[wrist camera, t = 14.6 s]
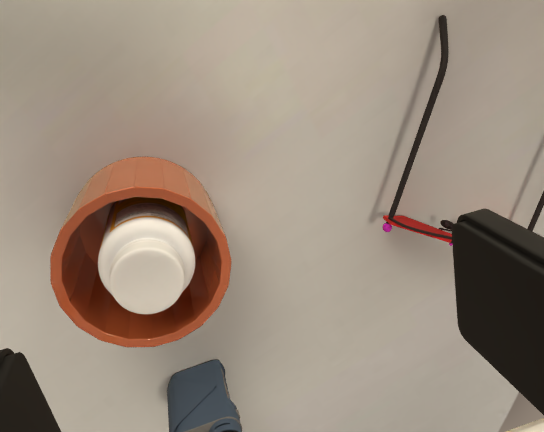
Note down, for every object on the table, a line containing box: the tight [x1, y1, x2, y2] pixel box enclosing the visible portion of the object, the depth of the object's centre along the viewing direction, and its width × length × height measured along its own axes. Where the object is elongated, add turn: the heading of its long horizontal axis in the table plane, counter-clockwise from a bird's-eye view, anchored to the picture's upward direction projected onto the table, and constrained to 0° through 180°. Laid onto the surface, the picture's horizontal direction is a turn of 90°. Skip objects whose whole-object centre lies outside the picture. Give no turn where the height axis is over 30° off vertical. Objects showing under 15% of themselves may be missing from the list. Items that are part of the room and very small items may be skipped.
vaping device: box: [167, 360, 242, 432], centre depth 36 cm, size 3×5×12 cm, turn 103°
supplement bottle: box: [98, 197, 195, 314], centre depth 31 cm, size 6×6×10 cm
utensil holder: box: [51, 157, 231, 347], centre depth 33 cm, size 10×10×8 cm
